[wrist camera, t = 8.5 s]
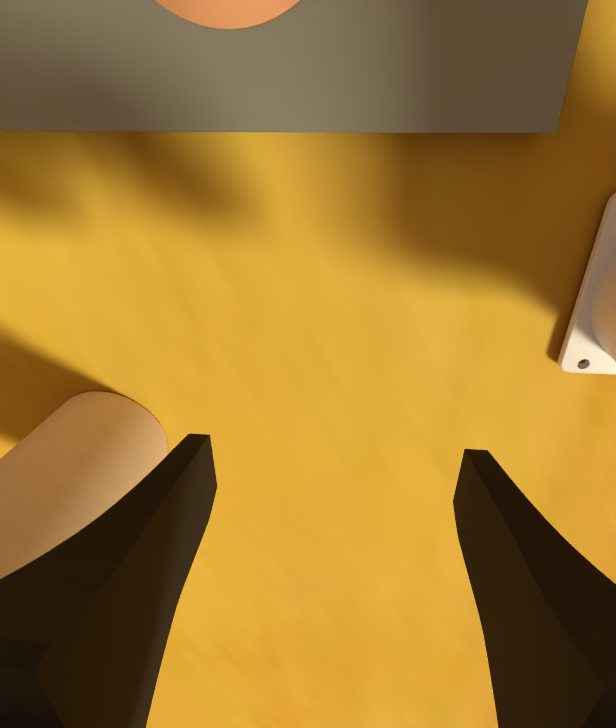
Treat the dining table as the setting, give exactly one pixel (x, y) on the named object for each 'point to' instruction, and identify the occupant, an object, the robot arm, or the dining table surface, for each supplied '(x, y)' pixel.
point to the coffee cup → (73, 472)
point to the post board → (286, 65)
